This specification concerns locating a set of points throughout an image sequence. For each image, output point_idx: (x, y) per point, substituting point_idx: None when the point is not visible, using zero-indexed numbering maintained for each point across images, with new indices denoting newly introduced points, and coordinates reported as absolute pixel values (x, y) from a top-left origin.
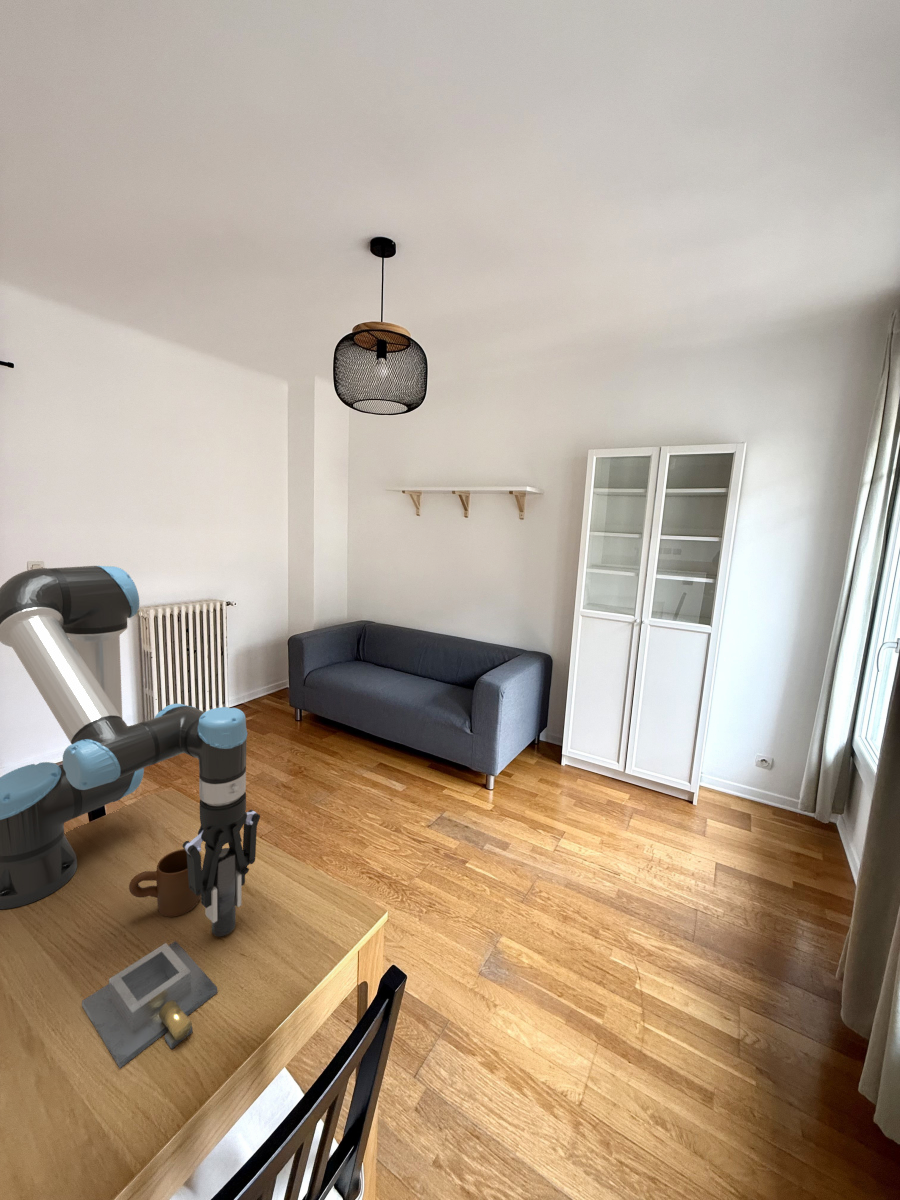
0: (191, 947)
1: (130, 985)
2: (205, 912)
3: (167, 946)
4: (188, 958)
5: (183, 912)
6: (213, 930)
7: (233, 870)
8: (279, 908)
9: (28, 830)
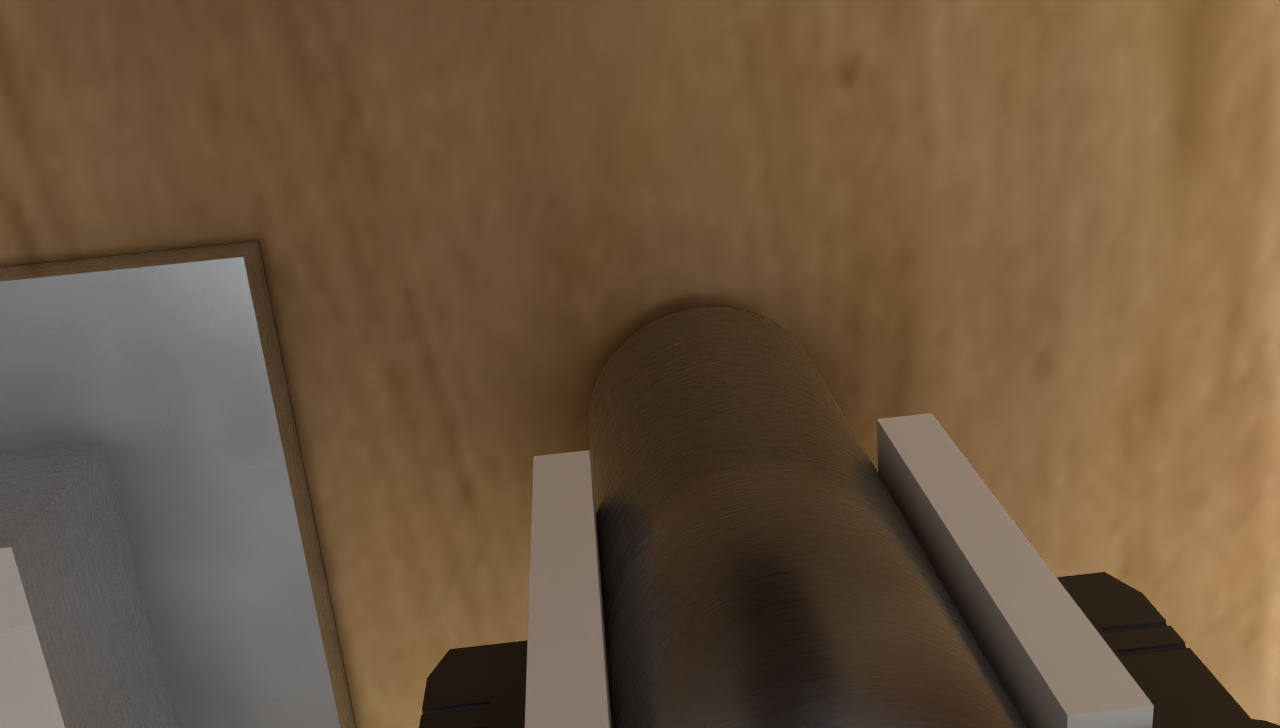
0: (380, 371)
1: None
2: (533, 474)
3: (16, 610)
4: (288, 556)
5: None
6: (590, 458)
7: None
8: (1233, 512)
9: None
